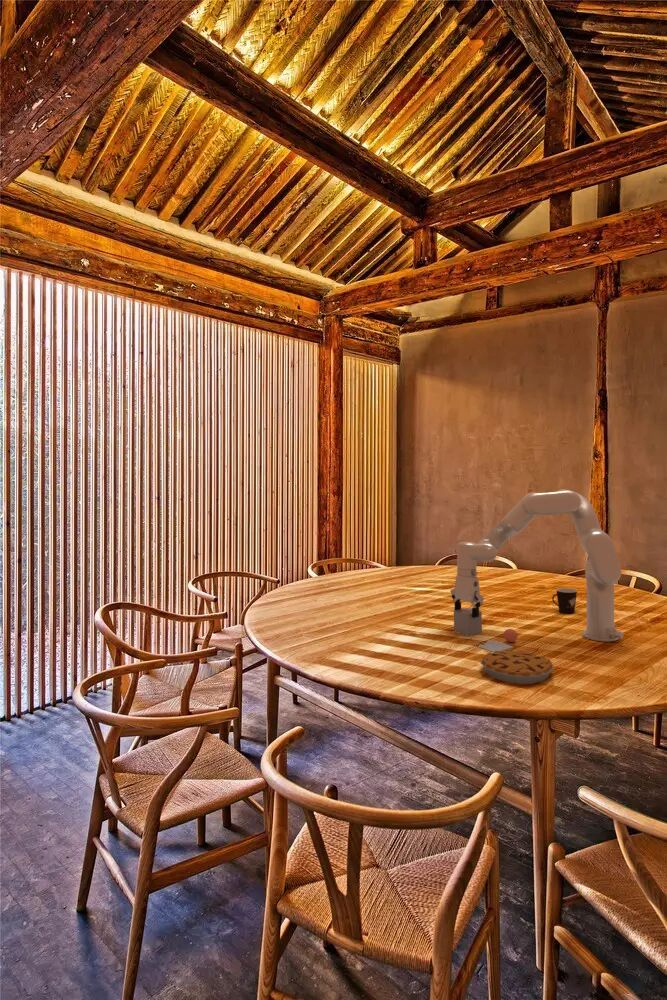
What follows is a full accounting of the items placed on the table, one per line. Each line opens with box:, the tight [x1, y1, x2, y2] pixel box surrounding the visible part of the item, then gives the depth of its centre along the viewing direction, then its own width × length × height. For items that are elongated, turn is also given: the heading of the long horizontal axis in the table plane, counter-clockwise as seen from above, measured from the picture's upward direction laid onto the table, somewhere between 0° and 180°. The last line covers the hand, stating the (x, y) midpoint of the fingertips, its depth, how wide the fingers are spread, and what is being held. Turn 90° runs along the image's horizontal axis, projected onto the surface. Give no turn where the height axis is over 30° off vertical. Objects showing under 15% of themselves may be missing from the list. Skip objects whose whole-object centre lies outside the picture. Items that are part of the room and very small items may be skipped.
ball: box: [503, 628, 518, 643], centre depth 204 cm, size 5×5×5 cm
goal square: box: [474, 639, 515, 653], centre depth 200 cm, size 10×10×1 cm
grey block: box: [453, 607, 483, 637], centre depth 217 cm, size 8×8×9 cm
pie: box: [480, 649, 554, 685], centre depth 173 cm, size 22×22×5 cm
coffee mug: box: [551, 587, 578, 615], centre depth 244 cm, size 12×9×10 cm
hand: (466, 614), depth 217 cm, fingers open, 9 cm apart
